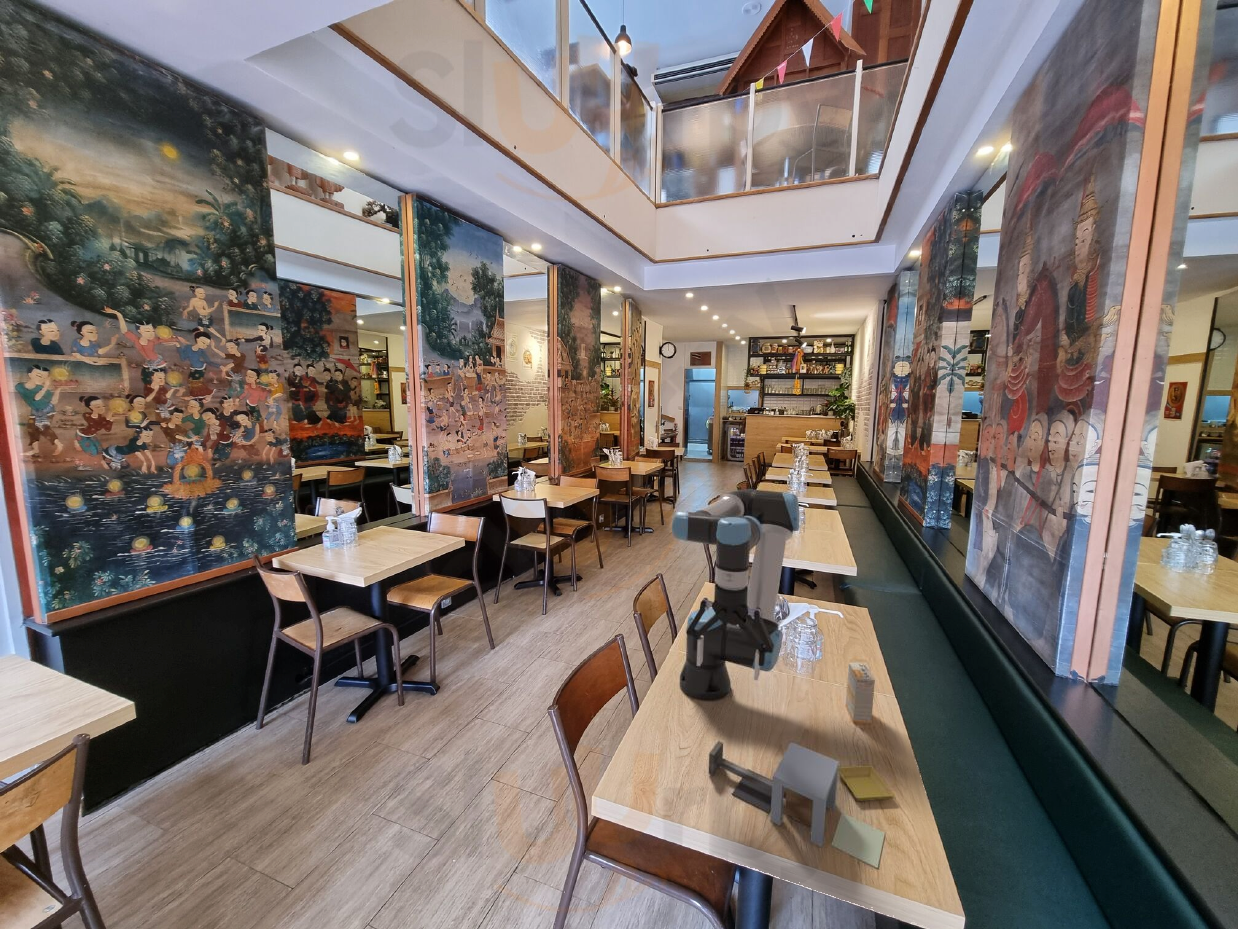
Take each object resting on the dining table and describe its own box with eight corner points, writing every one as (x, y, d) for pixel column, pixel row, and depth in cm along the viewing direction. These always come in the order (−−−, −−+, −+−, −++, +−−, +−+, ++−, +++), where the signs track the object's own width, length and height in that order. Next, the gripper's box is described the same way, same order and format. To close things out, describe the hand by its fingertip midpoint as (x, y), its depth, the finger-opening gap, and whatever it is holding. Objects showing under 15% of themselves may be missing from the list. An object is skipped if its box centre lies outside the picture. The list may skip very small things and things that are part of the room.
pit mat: (732, 794, 106) (732, 793, 106) (747, 769, 114) (747, 768, 114) (768, 813, 102) (768, 812, 102) (781, 785, 109) (781, 784, 109)
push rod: (707, 775, 111) (708, 751, 111) (718, 759, 116) (719, 736, 115) (814, 828, 98) (816, 802, 97) (822, 808, 102) (824, 783, 102)
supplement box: (872, 726, 129) (876, 680, 128) (852, 723, 130) (856, 678, 129) (863, 707, 137) (866, 663, 136) (844, 704, 138) (848, 661, 137)
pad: (831, 845, 94) (831, 844, 94) (841, 814, 102) (841, 813, 102) (877, 869, 90) (877, 867, 90) (884, 834, 97) (884, 833, 97)
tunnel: (770, 820, 100) (772, 775, 99) (788, 783, 110) (791, 742, 108) (821, 847, 94) (824, 800, 93) (835, 805, 104) (839, 762, 102)
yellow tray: (894, 804, 105) (895, 795, 104) (856, 806, 104) (856, 797, 104) (871, 773, 113) (871, 765, 113) (835, 775, 113) (835, 767, 112)
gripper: (675, 580, 115) (672, 665, 118) (785, 600, 104) (780, 692, 107) (684, 571, 122) (682, 651, 124) (789, 588, 111) (784, 675, 114)
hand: (727, 670), depth 116 cm, fingers open, 13 cm apart
